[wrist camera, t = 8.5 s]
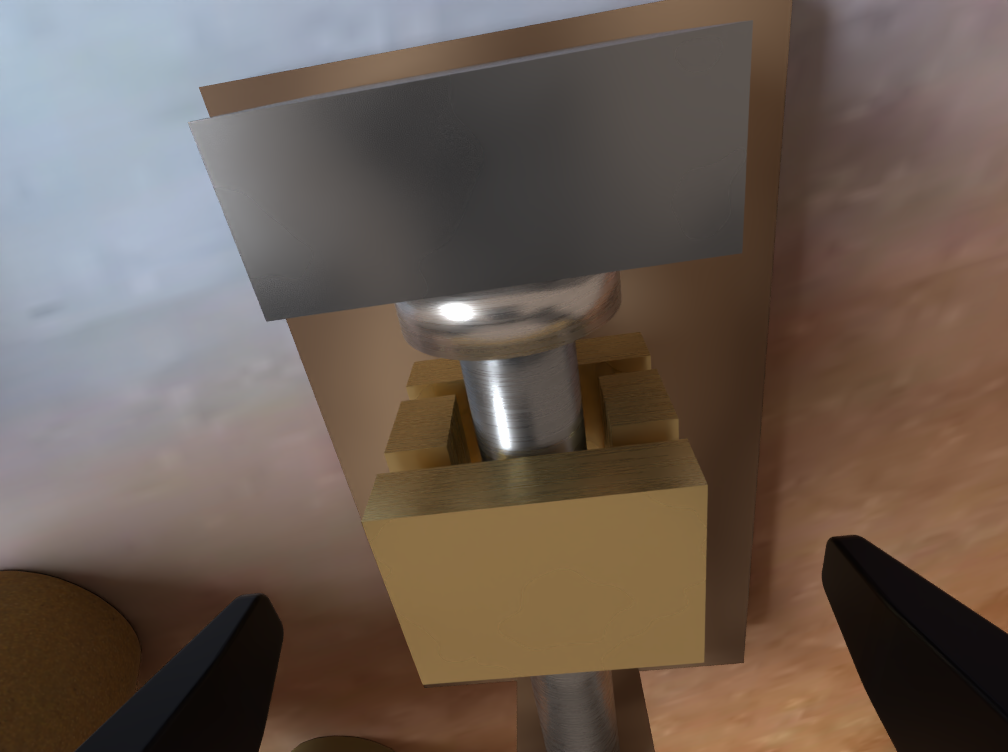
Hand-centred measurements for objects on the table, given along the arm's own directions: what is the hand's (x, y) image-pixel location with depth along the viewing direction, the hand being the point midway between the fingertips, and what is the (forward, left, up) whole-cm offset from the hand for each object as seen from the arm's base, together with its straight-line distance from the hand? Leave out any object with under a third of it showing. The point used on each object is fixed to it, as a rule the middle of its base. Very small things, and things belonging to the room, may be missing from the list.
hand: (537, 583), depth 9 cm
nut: (0, 0, -5) cm, 5 cm away
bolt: (0, +2, -7) cm, 7 cm away
